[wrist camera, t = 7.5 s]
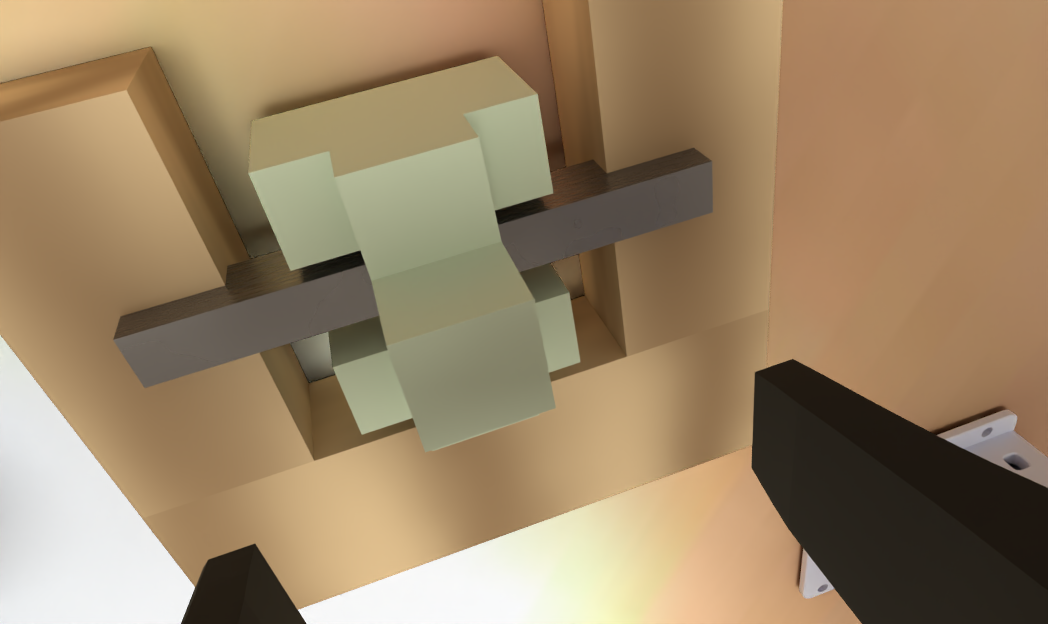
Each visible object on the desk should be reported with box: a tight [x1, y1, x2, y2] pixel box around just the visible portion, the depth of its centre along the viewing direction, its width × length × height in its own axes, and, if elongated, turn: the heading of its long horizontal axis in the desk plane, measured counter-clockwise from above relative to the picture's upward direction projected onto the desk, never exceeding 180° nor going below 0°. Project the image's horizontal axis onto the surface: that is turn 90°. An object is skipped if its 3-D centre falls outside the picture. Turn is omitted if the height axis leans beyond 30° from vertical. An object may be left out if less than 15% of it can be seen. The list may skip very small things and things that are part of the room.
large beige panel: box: [0, 0, 783, 610], centre depth 17 cm, size 16×14×4 cm
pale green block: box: [248, 56, 580, 452], centre depth 14 cm, size 5×6×6 cm
